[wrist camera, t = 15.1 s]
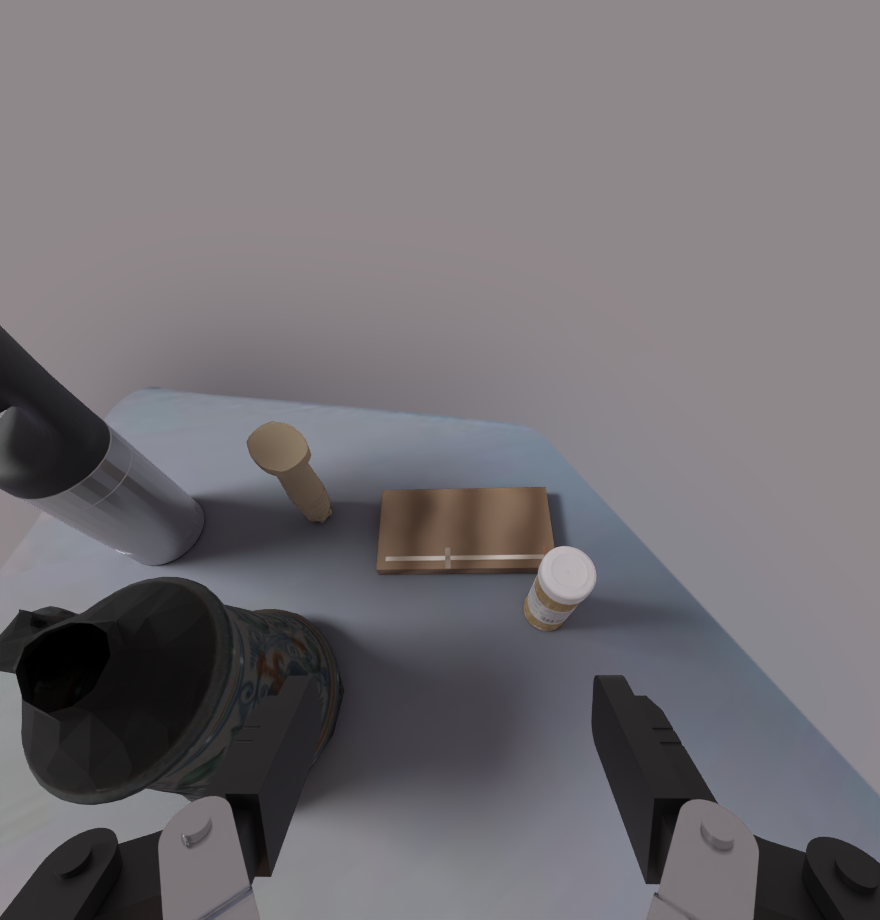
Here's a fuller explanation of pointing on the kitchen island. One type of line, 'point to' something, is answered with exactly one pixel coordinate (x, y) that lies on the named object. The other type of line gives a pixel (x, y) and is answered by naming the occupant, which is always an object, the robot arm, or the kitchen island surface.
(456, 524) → the walnut board
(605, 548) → the kitchen island surface
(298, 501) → the handle
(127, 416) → the kitchen island surface
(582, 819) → the kitchen island surface
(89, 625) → the beer stein
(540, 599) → the sprinkles bottle
